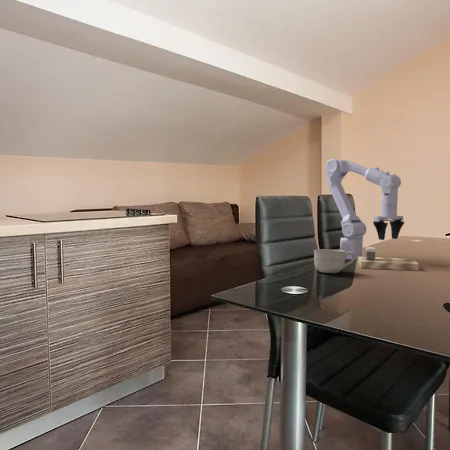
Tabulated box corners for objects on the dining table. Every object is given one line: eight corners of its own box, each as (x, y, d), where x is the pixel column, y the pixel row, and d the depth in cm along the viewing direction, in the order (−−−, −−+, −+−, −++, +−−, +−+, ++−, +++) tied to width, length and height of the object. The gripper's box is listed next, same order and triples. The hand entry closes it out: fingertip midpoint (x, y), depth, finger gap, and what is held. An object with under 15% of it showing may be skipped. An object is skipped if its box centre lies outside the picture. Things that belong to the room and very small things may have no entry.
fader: (366, 259, 153) (367, 248, 153) (365, 257, 157) (365, 246, 157) (375, 259, 152) (375, 248, 152) (373, 257, 157) (374, 247, 156)
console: (360, 268, 150) (360, 261, 150) (357, 262, 162) (358, 256, 162) (418, 270, 146) (418, 263, 145) (411, 265, 157) (411, 258, 157)
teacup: (309, 273, 141) (310, 250, 140) (318, 268, 150) (318, 247, 149) (350, 277, 134) (351, 253, 133) (356, 271, 144) (357, 249, 143)
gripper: (385, 205, 152) (383, 241, 154) (410, 205, 159) (408, 239, 160) (370, 205, 159) (369, 239, 160) (395, 204, 165) (394, 237, 167)
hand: (388, 239), depth 161 cm, fingers open, 7 cm apart
